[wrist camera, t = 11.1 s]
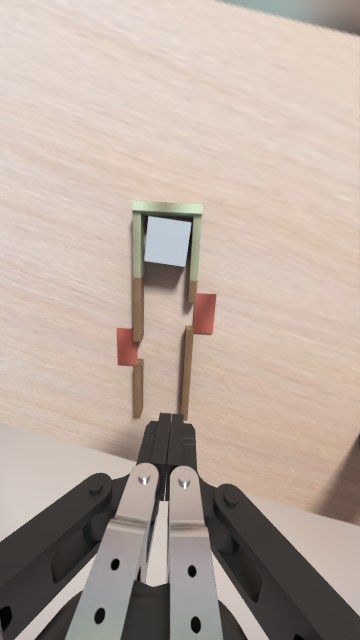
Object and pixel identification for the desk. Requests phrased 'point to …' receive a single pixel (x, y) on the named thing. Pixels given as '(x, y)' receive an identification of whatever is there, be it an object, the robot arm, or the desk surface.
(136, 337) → the frame
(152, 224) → the slate block
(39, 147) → the desk surface
